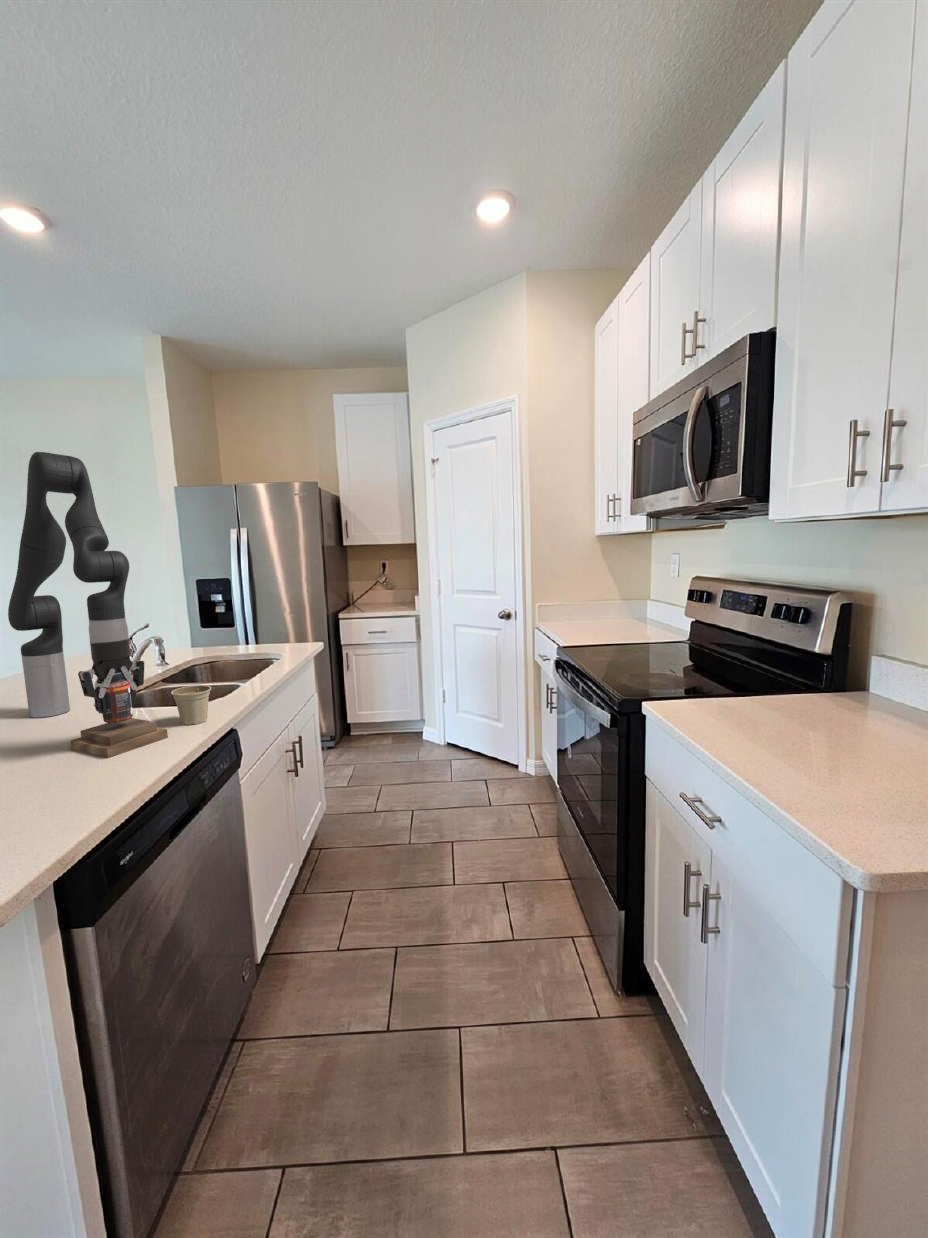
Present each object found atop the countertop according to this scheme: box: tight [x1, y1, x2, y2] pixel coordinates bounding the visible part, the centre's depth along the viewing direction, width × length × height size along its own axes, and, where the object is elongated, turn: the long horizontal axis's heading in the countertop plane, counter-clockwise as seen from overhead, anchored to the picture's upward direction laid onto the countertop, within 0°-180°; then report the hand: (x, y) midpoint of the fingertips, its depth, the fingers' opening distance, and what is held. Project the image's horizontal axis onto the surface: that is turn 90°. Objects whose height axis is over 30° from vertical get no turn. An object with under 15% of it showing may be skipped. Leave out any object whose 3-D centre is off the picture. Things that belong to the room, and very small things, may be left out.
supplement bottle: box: [102, 672, 134, 723], centre depth 126 cm, size 6×6×11 cm
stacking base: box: [70, 717, 169, 759], centre depth 127 cm, size 14×14×4 cm
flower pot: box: [170, 684, 212, 726], centre depth 142 cm, size 9×9×9 cm
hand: (117, 709), depth 126 cm, fingers closed on supplement bottle, 6 cm apart
